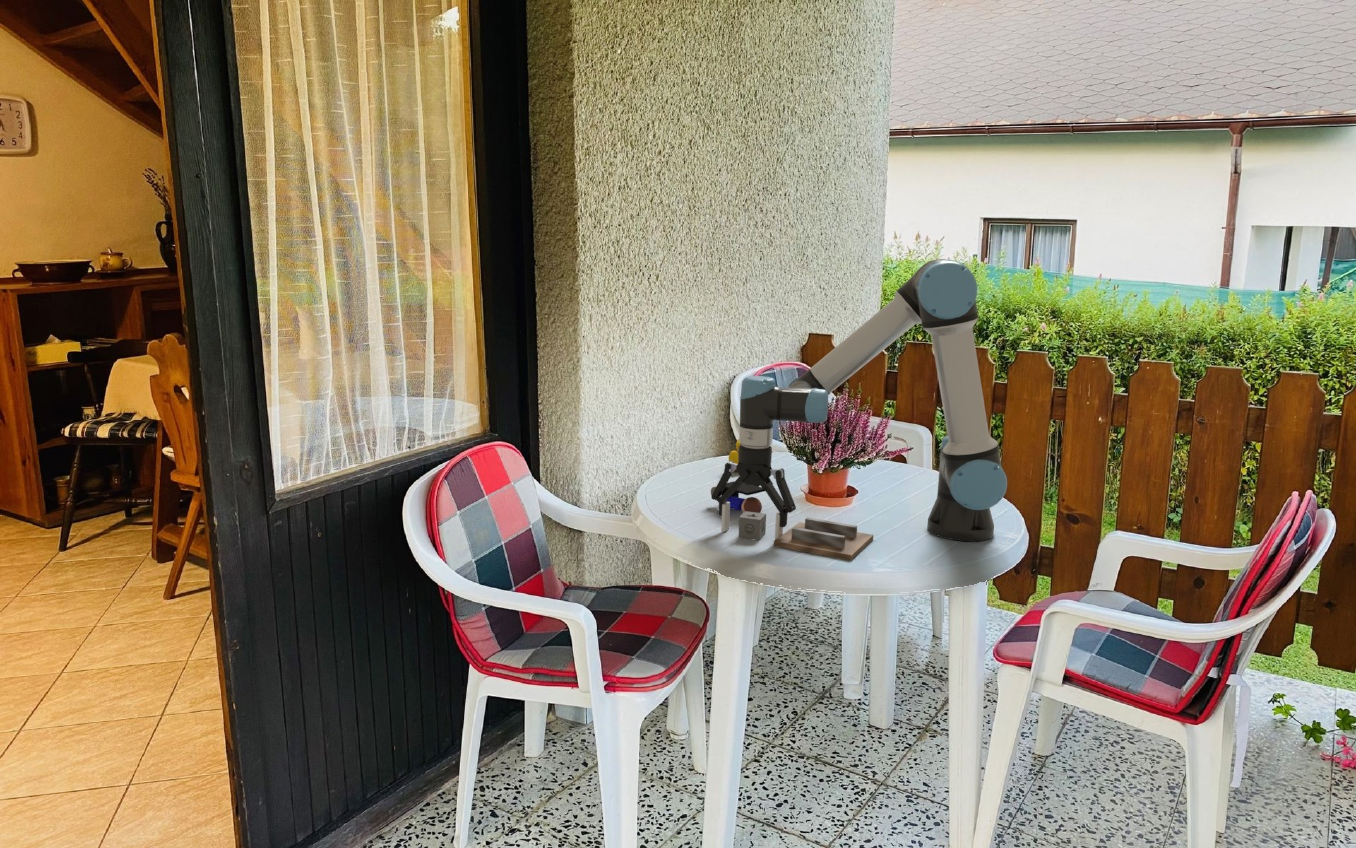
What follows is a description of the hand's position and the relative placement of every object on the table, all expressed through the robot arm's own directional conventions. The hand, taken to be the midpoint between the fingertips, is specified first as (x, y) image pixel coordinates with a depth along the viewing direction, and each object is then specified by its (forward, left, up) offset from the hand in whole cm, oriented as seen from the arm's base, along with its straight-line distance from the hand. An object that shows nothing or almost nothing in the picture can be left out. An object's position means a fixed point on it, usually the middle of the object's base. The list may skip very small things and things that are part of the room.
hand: (751, 535), depth 216 cm
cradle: (-16, -4, 0) cm, 17 cm away
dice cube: (0, 0, 0) cm, 0 cm away
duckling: (+27, -54, 0) cm, 60 cm away
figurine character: (+11, -16, -1) cm, 19 cm away
